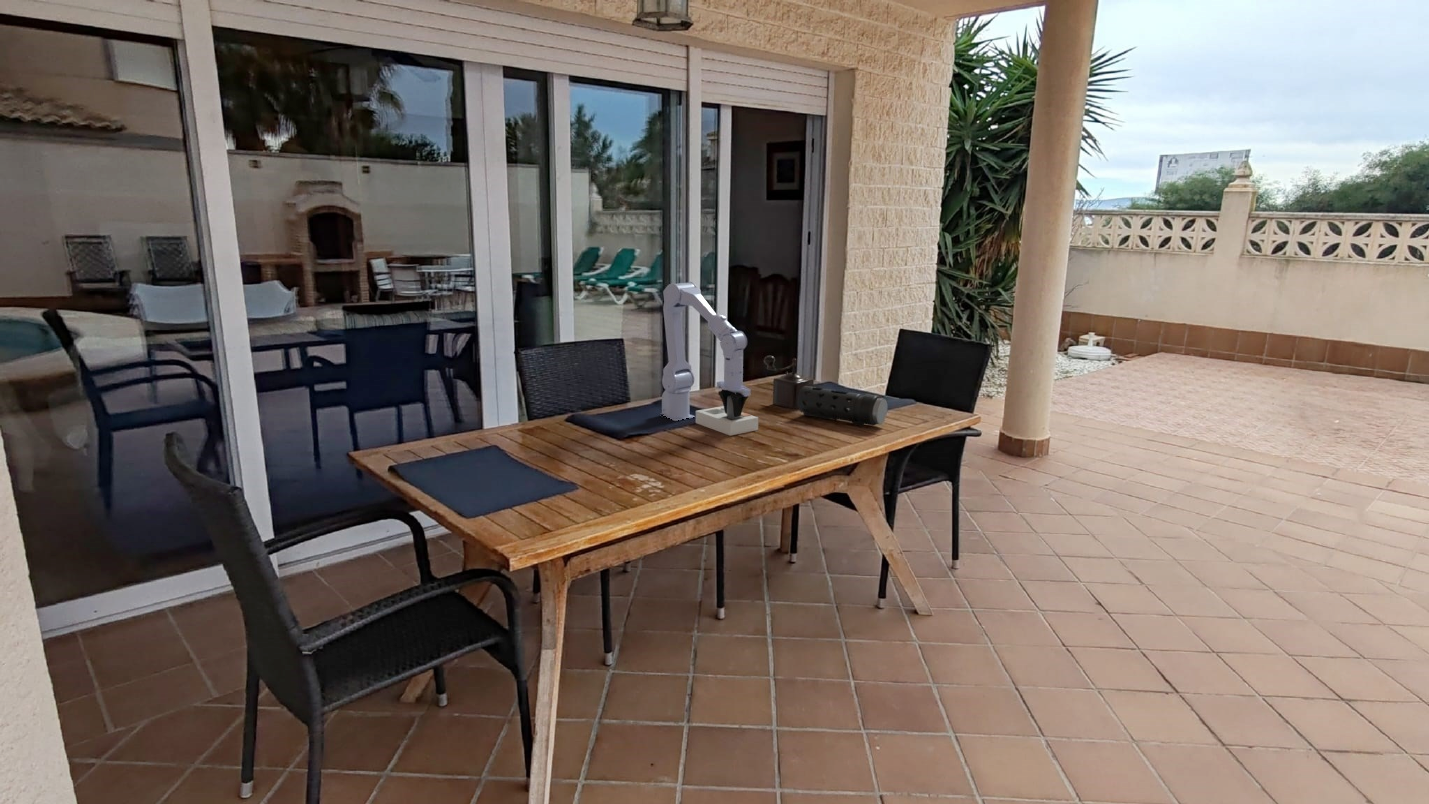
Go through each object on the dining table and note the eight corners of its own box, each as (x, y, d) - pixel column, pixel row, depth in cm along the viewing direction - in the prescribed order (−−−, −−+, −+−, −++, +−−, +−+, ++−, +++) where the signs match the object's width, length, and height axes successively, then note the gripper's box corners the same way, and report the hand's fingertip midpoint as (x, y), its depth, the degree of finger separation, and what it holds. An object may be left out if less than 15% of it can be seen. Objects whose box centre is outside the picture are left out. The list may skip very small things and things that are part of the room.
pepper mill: (790, 399, 277) (792, 350, 273) (813, 405, 269) (815, 354, 265) (760, 406, 267) (761, 355, 263) (783, 412, 259) (784, 360, 255)
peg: (724, 421, 238) (725, 396, 236) (736, 420, 239) (736, 395, 237) (729, 424, 234) (730, 399, 232) (741, 423, 236) (742, 398, 234)
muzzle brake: (810, 412, 260) (811, 382, 257) (887, 425, 244) (889, 394, 241) (796, 418, 252) (797, 387, 250) (875, 432, 236) (876, 399, 234)
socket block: (695, 422, 245) (695, 409, 244) (722, 417, 251) (722, 405, 250) (730, 435, 231) (730, 422, 230) (758, 429, 238) (758, 416, 236)
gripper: (708, 369, 236) (708, 411, 239) (738, 377, 225) (737, 421, 228) (726, 366, 240) (726, 408, 243) (756, 374, 229) (755, 418, 232)
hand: (732, 414), depth 236 cm, fingers closed on peg, 4 cm apart
